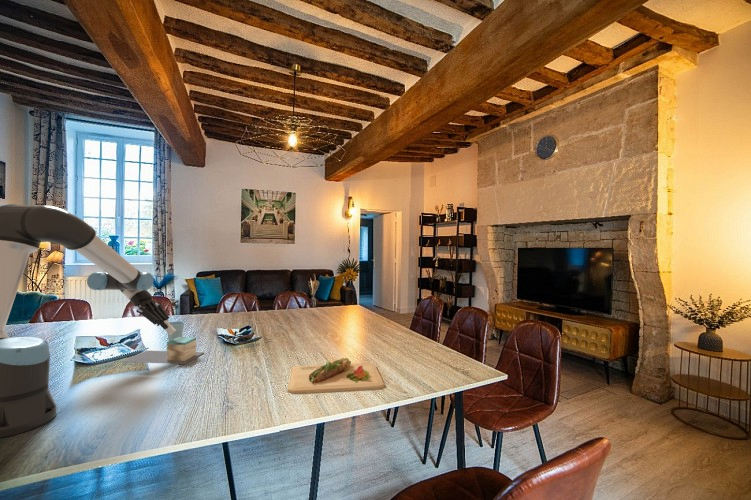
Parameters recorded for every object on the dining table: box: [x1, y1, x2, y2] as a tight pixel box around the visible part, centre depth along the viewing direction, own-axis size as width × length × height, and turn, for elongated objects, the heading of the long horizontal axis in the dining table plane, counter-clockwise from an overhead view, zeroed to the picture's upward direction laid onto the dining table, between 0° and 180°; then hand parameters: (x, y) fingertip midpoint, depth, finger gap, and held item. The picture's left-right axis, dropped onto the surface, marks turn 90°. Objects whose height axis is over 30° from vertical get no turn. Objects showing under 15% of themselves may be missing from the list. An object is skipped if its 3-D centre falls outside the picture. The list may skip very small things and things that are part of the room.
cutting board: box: [286, 357, 385, 394], centre depth 126 cm, size 35×23×8 cm
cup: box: [167, 320, 185, 342], centre depth 165 cm, size 8×8×10 cm
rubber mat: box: [120, 350, 205, 366], centre depth 143 cm, size 28×15×1 cm, turn 88°
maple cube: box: [166, 336, 197, 361], centre depth 143 cm, size 8×8×8 cm
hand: (173, 332), depth 143 cm, fingers closed
